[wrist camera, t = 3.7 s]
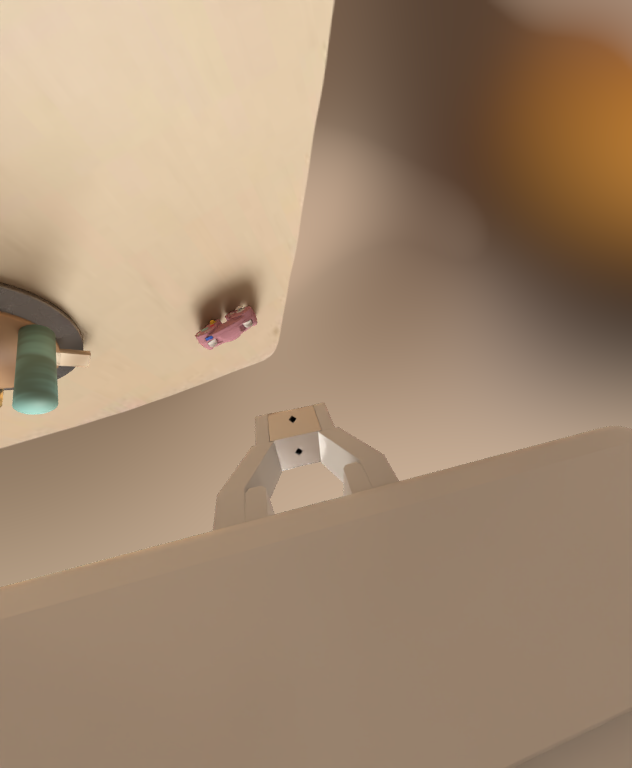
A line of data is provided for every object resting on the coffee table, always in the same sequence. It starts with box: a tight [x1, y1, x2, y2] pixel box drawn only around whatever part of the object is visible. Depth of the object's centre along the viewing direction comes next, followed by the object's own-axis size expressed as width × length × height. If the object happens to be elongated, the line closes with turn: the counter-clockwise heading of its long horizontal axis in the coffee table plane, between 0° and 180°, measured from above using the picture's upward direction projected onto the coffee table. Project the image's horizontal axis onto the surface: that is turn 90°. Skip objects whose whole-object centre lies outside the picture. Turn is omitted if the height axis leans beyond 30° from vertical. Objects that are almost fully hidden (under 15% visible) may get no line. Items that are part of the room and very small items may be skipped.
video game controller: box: [195, 306, 257, 350], centre depth 38 cm, size 10×5×7 cm, turn 99°
